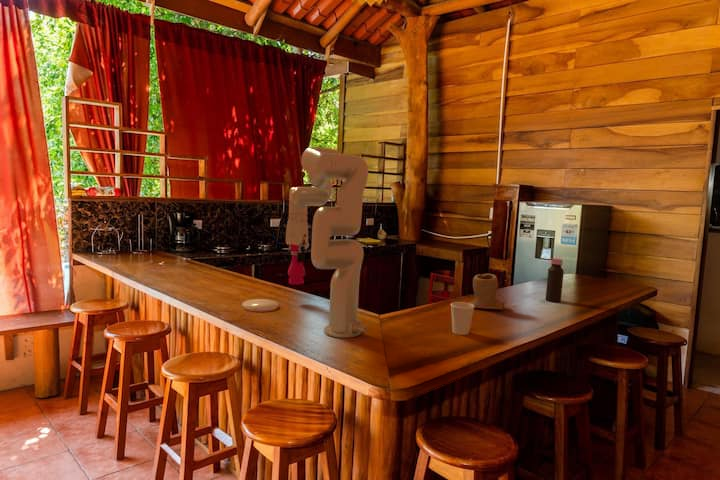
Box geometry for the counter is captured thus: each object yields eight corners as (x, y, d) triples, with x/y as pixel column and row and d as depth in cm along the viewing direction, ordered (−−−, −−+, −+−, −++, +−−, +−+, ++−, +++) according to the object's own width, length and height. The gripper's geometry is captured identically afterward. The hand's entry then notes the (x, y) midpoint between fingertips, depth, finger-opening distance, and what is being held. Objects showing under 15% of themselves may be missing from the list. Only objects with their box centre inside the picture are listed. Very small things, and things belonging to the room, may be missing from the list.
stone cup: (469, 310, 200) (471, 275, 198) (468, 303, 211) (471, 270, 210) (506, 314, 197) (509, 278, 195) (504, 307, 208) (507, 273, 206)
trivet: (285, 306, 191) (285, 302, 191) (262, 313, 179) (262, 309, 179) (258, 300, 198) (258, 297, 198) (234, 307, 186) (234, 303, 186)
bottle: (558, 299, 229) (562, 258, 226) (562, 303, 222) (566, 260, 220) (543, 298, 229) (547, 257, 227) (547, 302, 223) (551, 259, 220)
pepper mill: (307, 282, 201) (308, 235, 199) (301, 285, 194) (302, 236, 192) (291, 281, 203) (293, 234, 201) (284, 283, 196) (285, 235, 194)
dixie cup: (455, 327, 174) (457, 300, 172) (476, 332, 168) (478, 305, 167) (444, 332, 167) (446, 304, 166) (465, 337, 162) (467, 309, 161)
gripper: (278, 216, 199) (277, 259, 201) (303, 218, 187) (302, 264, 189) (293, 216, 205) (292, 258, 206) (318, 218, 192) (316, 263, 194)
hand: (296, 260), depth 197 cm, fingers closed on pepper mill, 5 cm apart
